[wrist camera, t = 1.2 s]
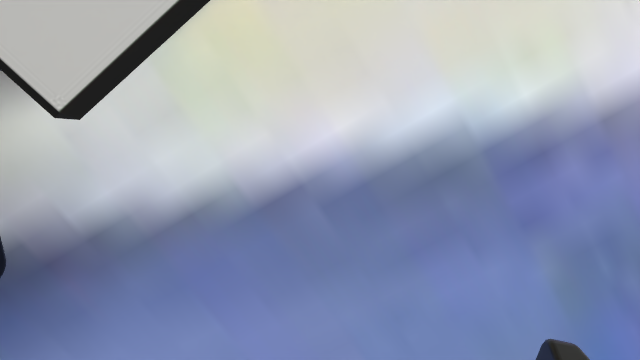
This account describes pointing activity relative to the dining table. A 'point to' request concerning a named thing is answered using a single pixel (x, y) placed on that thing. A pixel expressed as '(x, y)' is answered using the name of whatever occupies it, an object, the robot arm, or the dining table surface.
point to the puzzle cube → (82, 46)
